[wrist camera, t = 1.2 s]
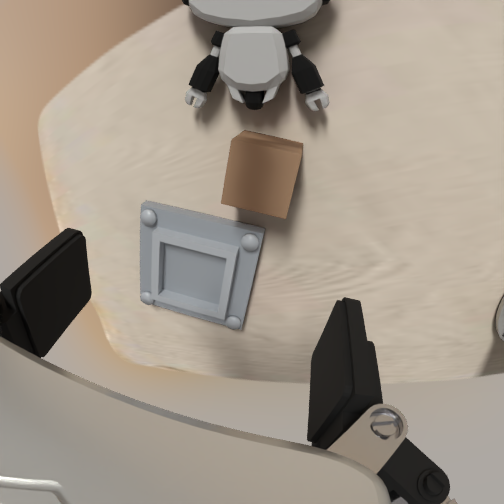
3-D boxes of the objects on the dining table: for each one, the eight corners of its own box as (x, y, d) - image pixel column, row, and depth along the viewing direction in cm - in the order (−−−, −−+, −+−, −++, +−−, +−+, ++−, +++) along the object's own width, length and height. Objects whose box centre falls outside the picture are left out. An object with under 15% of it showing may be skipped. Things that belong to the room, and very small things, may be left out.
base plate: (265, 228, 30) (261, 239, 28) (243, 322, 36) (239, 336, 34) (146, 200, 31) (135, 209, 29) (145, 294, 37) (136, 306, 35)
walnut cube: (303, 143, 26) (301, 155, 22) (289, 197, 28) (285, 219, 24) (244, 130, 26) (231, 139, 22) (235, 184, 29) (221, 203, 24)
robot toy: (332, 110, 25) (335, -49, 17) (336, 118, 21) (339, -67, 13) (191, 105, 27) (190, -45, 18) (172, 114, 23) (170, -59, 15)
